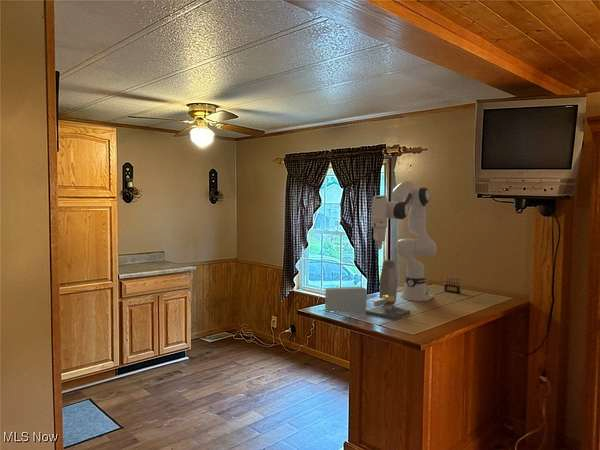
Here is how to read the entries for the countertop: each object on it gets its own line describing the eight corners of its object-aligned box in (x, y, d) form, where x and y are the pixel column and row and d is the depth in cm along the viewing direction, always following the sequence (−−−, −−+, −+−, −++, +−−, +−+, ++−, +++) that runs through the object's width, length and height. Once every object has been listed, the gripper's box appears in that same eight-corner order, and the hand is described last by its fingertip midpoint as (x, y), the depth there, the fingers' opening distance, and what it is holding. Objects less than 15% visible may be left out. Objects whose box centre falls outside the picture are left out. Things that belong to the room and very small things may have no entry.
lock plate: (382, 308, 264) (382, 298, 264) (410, 313, 252) (410, 303, 252) (365, 314, 250) (366, 303, 250) (394, 320, 239) (394, 309, 238)
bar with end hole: (328, 313, 252) (328, 289, 252) (325, 310, 258) (325, 287, 257) (366, 311, 258) (367, 288, 257) (362, 308, 264) (363, 286, 263)
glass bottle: (396, 308, 265) (397, 261, 263) (378, 307, 267) (380, 260, 265) (396, 304, 275) (397, 259, 273) (379, 303, 277) (380, 258, 275)
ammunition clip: (444, 291, 314) (444, 274, 314) (445, 291, 316) (445, 274, 315) (459, 293, 308) (460, 276, 307) (460, 293, 309) (460, 275, 309)
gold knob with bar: (384, 300, 256) (385, 293, 256) (398, 303, 251) (398, 296, 251) (368, 306, 243) (368, 298, 243) (382, 308, 238) (382, 301, 237)
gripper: (371, 223, 263) (370, 247, 263) (376, 224, 243) (375, 249, 243) (381, 223, 263) (381, 247, 263) (387, 224, 242) (387, 250, 243)
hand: (378, 248), depth 253 cm, fingers open, 8 cm apart
